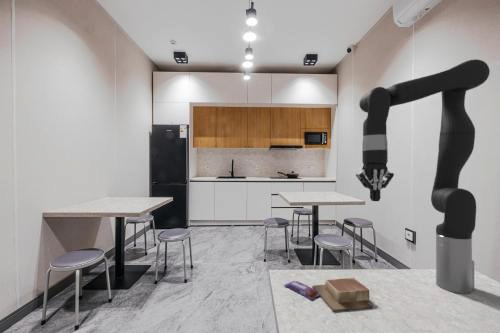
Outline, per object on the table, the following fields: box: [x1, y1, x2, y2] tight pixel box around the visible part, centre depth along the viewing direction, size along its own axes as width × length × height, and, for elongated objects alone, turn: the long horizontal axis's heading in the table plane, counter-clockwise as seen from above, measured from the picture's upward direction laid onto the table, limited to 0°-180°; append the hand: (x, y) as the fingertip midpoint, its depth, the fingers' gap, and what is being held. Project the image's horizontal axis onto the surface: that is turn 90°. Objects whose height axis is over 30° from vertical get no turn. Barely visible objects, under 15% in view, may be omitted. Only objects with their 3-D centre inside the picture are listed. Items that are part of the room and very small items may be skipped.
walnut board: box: [311, 284, 373, 313], centre depth 75 cm, size 12×14×1 cm
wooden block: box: [324, 277, 370, 303], centre depth 76 cm, size 3×8×10 cm
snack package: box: [283, 280, 320, 300], centre depth 79 cm, size 12×2×5 cm
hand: (375, 200), depth 82 cm, fingers closed
